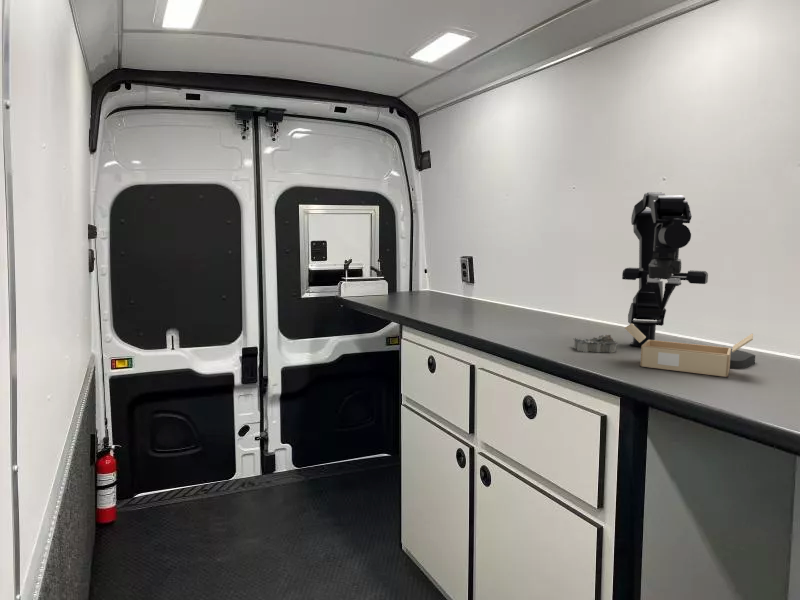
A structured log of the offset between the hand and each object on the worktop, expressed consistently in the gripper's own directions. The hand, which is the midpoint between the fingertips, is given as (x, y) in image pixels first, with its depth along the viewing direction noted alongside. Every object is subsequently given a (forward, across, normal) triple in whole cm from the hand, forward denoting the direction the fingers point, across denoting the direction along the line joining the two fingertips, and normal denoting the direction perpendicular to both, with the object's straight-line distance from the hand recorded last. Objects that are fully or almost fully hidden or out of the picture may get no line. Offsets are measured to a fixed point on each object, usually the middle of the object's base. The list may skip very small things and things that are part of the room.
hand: (661, 310), depth 142 cm
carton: (+12, +7, -7) cm, 16 cm away
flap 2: (+7, +16, -6) cm, 19 cm away
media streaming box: (+13, +12, +8) cm, 20 cm away
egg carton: (+13, -16, +3) cm, 21 cm away
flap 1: (+7, -2, -7) cm, 10 cm away
